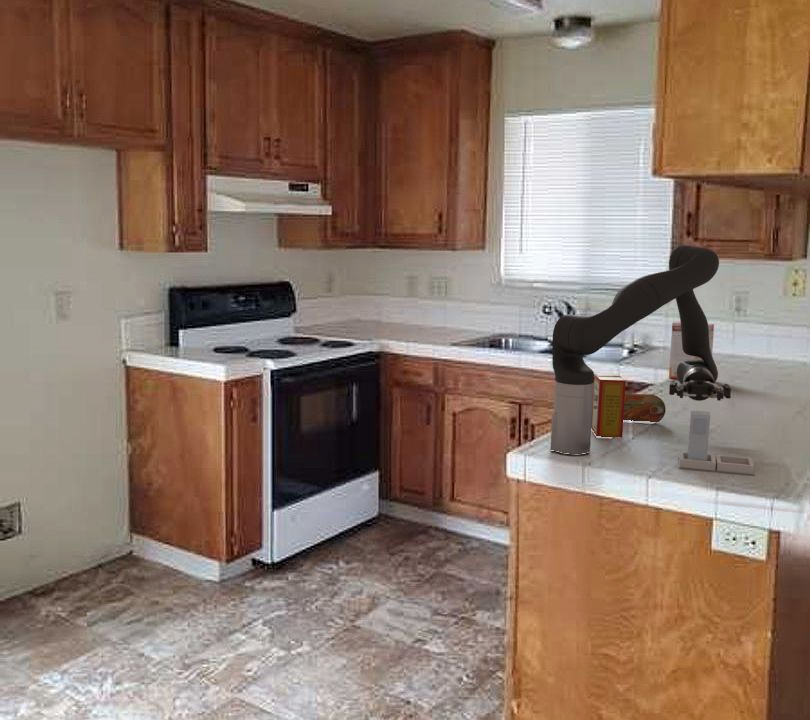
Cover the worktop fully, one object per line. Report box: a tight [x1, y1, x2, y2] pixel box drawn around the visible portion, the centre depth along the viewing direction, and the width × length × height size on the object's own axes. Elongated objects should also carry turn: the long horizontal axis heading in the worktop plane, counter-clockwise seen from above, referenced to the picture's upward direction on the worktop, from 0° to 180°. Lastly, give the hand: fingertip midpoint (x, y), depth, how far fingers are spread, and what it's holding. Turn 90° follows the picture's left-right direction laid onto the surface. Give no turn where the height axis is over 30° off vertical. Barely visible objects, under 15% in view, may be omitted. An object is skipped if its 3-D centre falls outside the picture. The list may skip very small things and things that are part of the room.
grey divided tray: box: [677, 451, 756, 477], centre depth 197 cm, size 16×11×3 cm
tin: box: [623, 392, 667, 423], centre depth 246 cm, size 15×3×8 cm, turn 81°
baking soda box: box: [591, 373, 627, 438], centre depth 229 cm, size 10×6×16 cm
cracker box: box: [668, 321, 715, 380], centre depth 320 cm, size 14×6×21 cm, turn 59°
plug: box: [687, 410, 711, 461], centre depth 197 cm, size 4×5×12 cm
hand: (700, 395), depth 207 cm, fingers open, 8 cm apart
